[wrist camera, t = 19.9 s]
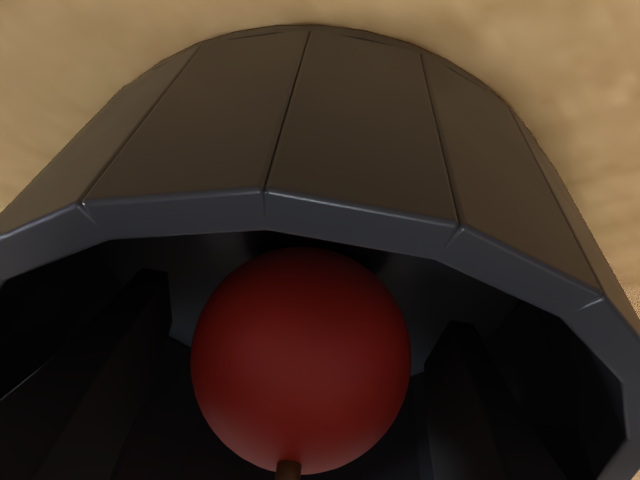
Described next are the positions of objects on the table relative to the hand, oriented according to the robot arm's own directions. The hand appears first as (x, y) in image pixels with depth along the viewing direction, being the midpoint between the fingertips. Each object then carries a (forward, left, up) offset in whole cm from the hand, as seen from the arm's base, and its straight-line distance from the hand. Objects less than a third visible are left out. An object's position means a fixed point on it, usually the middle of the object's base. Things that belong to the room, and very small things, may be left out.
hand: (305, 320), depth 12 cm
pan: (0, 0, -2) cm, 2 cm away
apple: (0, 0, +1) cm, 1 cm away
